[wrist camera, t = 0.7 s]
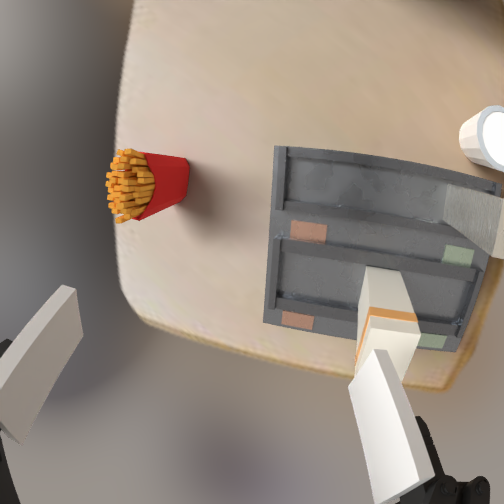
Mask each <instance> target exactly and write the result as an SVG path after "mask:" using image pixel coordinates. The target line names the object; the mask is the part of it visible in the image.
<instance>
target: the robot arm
mask: <svg viewBox="0 0 504 504" xmlns="http://www.w3.org/2000/svg"><path fill="white" fill-rule="evenodd" d="M82 337H83V331H82V325H81V320H80V314H79V307H78V301H77V294H76V289H74V288H71V287H68V286H65V285H61V286H60V287H59V289H58V290H57V291H56V292H55V293H54V294H53V295H52V296H51V297H50V298H49V300H48V301H47V302H46V303H45V304H44V305H43V306H42V307H41V309H40V310H39V311H38V312H37V313H36V314H35V315H34V317H33V318H32V319H31V320H30V321H29V323H28V324H27V325H26V326H25V327H24V329H23V330H22V331H21V332H20V334H19V335H18V336H17V337H16V339H15V340H14V341H11V340H9V339H6V340H4V341H3V342H1V343H0V431H1V430H2V431H3V432H4V433H5V434H6V435H7V436H8V437H9V438H11V439H12V440H14V441H15V442H17V443H18V444H20V445H23V443H24V441H25V439H26V437H27V434H28V433H29V430H30V428H31V426H32V424H33V422H34V420H35V418H36V416H37V415H38V413H39V411H40V409H41V407H42V405H43V403H44V401H45V399H46V398H47V396H48V394H49V392H50V390H51V388H52V387H53V385H54V383H55V381H56V380H57V378H58V376H59V374H60V373H61V371H62V369H63V367H64V366H65V364H66V363H67V361H68V359H69V358H70V356H71V355H72V353H73V351H74V350H75V348H76V346H77V345H78V343H79V342H80V340H81V338H82ZM348 389H349V393H350V397H351V401H352V405H353V408H354V413H355V416H356V421H357V425H358V429H359V433H360V437H361V441H362V445H363V450H364V455H365V458H366V464H367V468H368V473H369V477H370V483H371V487H372V493H373V498H374V503H375V504H384V503H388V502H391V501H393V500H395V499H397V498H399V497H400V501H399V502H398V503H396V504H489V503H490V484H489V482H488V480H487V479H486V478H485V477H483V476H478V477H476V478H475V479H473V480H472V481H470V482H457V481H456V480H455V478H453V477H452V476H448V475H445V474H444V471H443V468H442V466H441V463H440V460H439V457H438V454H437V451H436V448H435V445H433V440H432V437H430V432H429V429H428V427H427V425H426V423H425V422H424V421H423V420H422V418H421V417H420V416H416V417H415V416H414V413H413V411H412V408H411V406H410V403H409V401H408V398H407V396H406V393H405V391H404V388H403V386H402V384H401V381H400V379H399V376H398V374H397V372H396V370H395V367H394V365H393V363H392V360H391V358H390V356H389V354H388V351H387V350H380V349H373V350H372V352H371V354H370V355H369V357H368V358H367V360H366V361H365V363H364V364H363V366H362V367H361V369H360V370H359V372H358V373H357V375H356V376H355V377H354V379H353V380H352V382H351V383H350V385H349V386H348ZM0 504H20V501H19V498H18V495H17V493H16V490H15V487H14V484H13V481H12V478H11V474H10V471H9V468H8V464H7V460H6V456H5V452H4V448H3V444H2V439H1V437H0Z"/></svg>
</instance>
